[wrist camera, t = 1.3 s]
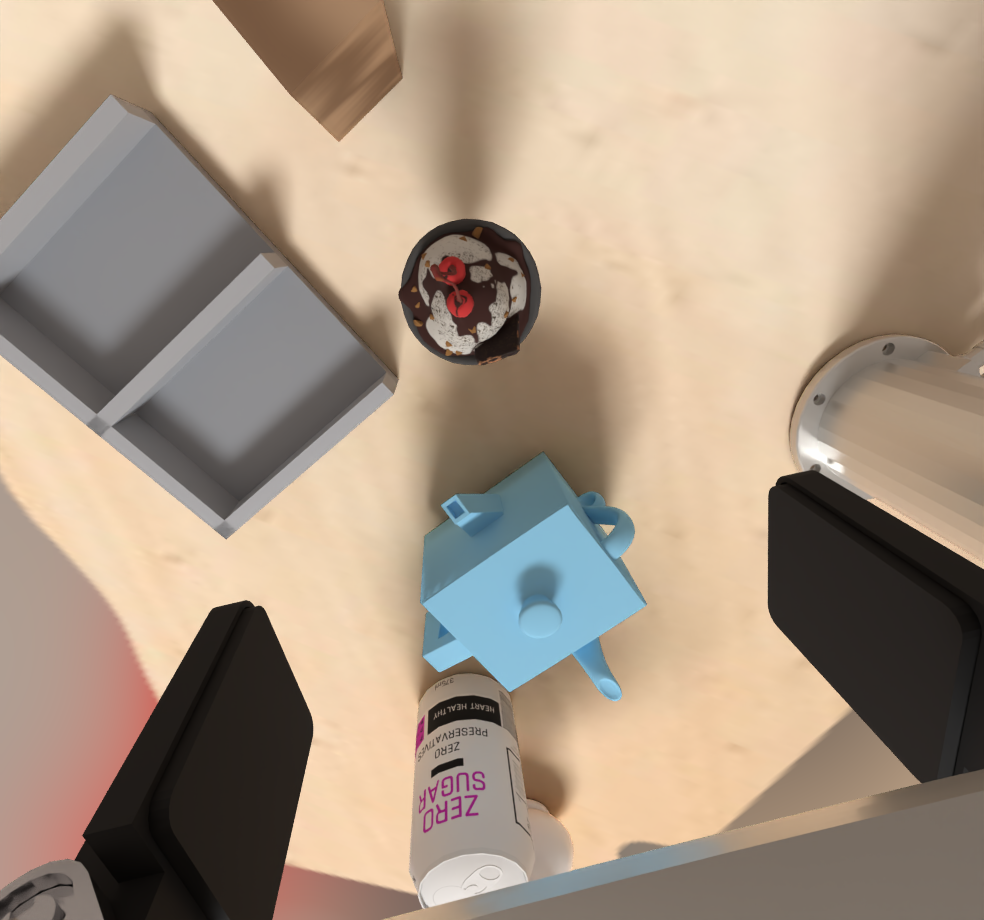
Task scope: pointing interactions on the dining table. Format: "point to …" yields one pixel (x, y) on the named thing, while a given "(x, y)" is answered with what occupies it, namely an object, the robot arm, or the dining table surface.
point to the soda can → (468, 793)
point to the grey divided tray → (176, 322)
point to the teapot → (527, 578)
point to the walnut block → (322, 53)
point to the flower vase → (549, 843)
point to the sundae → (470, 292)
